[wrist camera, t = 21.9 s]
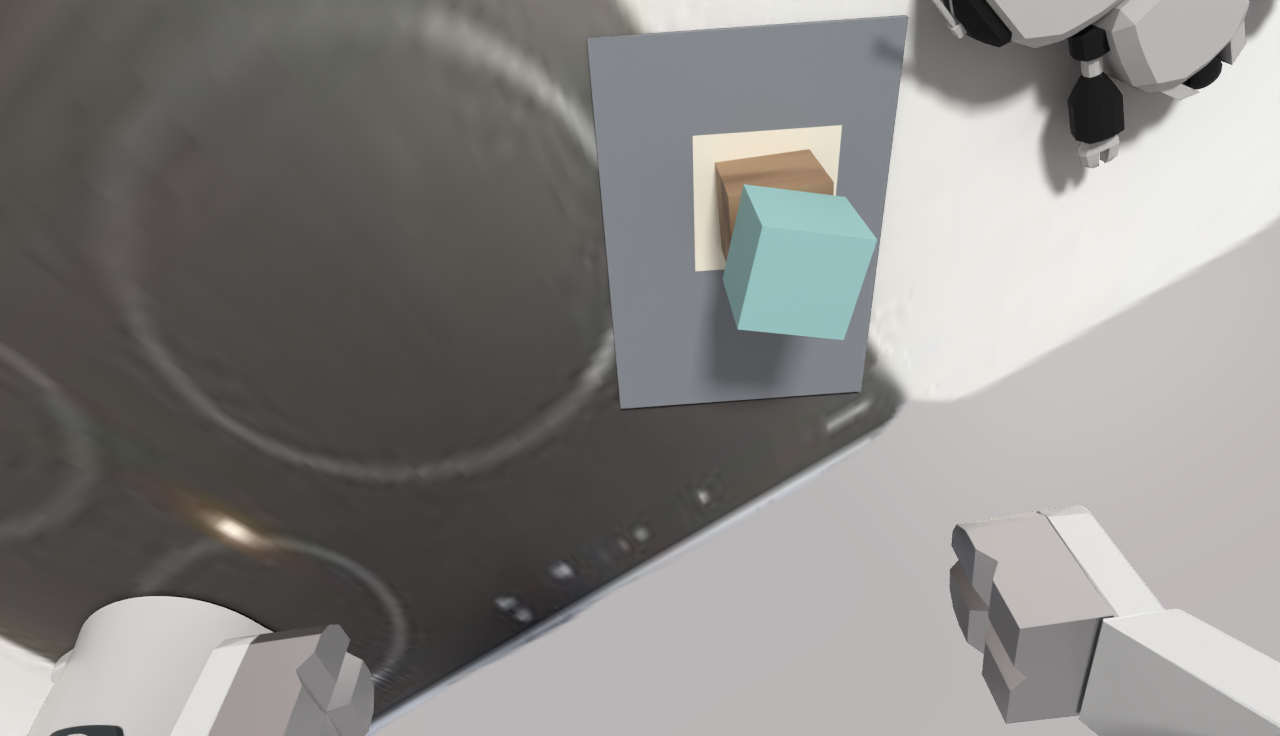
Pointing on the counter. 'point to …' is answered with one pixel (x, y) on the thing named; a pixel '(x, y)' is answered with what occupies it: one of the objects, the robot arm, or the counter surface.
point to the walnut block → (765, 182)
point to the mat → (688, 201)
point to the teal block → (796, 262)
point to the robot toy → (1113, 50)
